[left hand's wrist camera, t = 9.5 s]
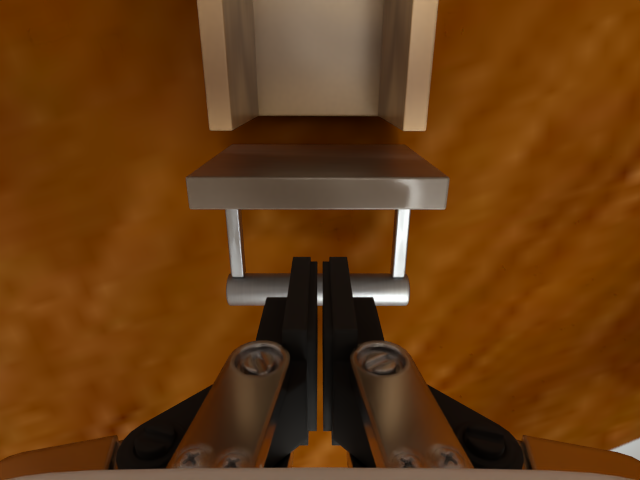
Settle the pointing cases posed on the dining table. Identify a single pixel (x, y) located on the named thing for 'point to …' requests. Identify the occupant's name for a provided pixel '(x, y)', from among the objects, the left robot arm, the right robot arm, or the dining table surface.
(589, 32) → the dining table surface
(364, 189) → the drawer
